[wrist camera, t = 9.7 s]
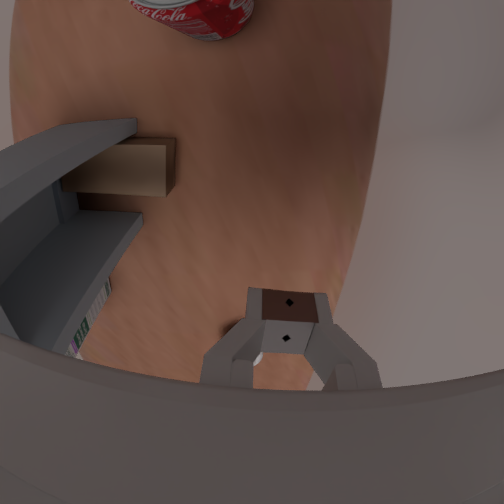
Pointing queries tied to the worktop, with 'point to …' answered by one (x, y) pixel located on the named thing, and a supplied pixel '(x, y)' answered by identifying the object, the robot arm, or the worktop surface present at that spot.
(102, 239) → the shelf
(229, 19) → the soda can
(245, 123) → the worktop surface
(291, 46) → the worktop surface
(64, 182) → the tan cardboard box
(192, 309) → the worktop surface
